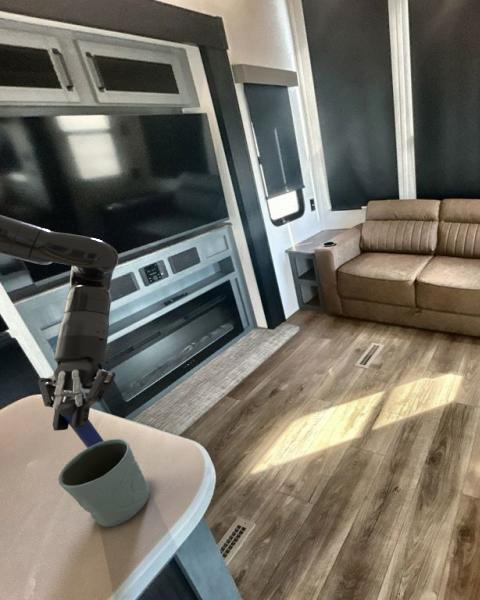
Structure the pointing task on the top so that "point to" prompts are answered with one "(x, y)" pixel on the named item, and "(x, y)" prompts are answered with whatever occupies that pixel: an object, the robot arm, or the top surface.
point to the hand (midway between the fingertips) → (69, 428)
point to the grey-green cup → (106, 482)
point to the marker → (86, 433)
